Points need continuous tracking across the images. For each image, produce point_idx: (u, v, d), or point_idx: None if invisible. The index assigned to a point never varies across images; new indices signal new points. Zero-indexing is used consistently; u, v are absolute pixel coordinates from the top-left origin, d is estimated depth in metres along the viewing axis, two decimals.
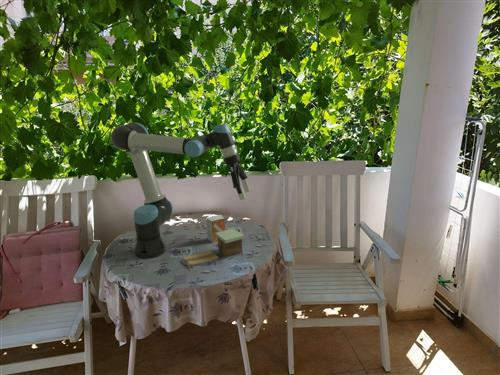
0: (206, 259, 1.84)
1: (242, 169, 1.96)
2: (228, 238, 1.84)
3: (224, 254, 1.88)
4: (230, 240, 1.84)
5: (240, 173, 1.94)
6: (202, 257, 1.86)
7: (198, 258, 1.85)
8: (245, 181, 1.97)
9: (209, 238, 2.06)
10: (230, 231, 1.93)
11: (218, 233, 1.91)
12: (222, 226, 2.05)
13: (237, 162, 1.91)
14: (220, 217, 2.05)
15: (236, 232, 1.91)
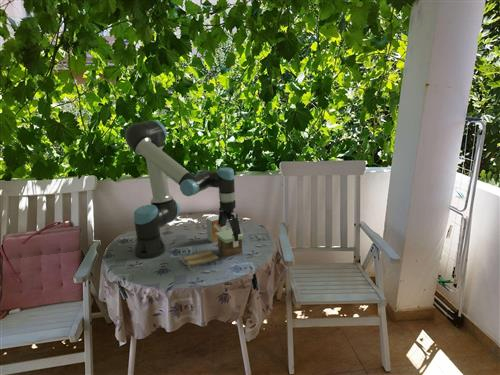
0: (206, 259, 1.84)
1: None
2: (228, 238, 1.84)
3: (224, 254, 1.88)
4: (230, 240, 1.84)
5: (225, 219, 1.91)
6: (202, 257, 1.86)
7: (198, 258, 1.85)
8: (225, 228, 1.94)
9: (209, 238, 2.06)
10: (230, 231, 1.93)
11: (218, 233, 1.91)
12: None
13: None
14: None
15: None
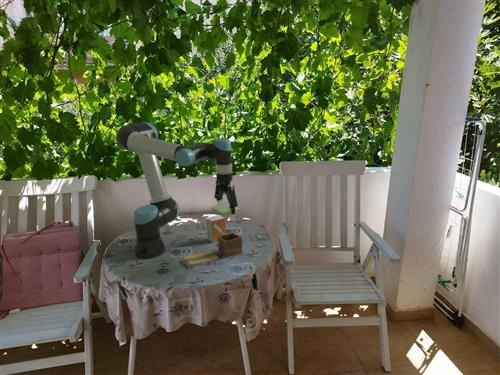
0: (206, 259, 1.84)
1: None
2: (225, 211, 1.80)
3: (224, 254, 1.88)
4: (227, 213, 1.80)
5: (222, 193, 1.87)
6: (202, 257, 1.86)
7: (198, 258, 1.85)
8: (221, 202, 1.90)
9: (209, 238, 2.06)
10: (226, 205, 1.89)
11: (214, 207, 1.87)
12: (222, 226, 2.05)
13: None
14: (220, 217, 2.05)
15: None
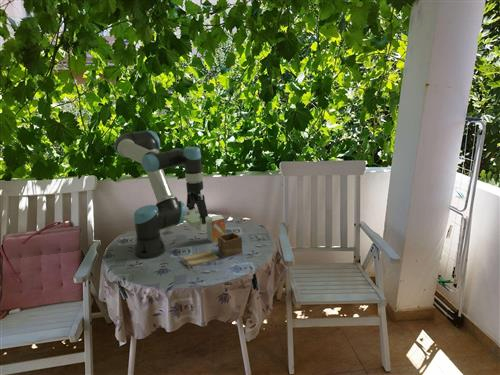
0: (206, 259, 1.84)
1: None
2: (195, 221, 1.76)
3: (224, 254, 1.88)
4: (197, 223, 1.75)
5: (193, 202, 1.82)
6: (202, 257, 1.86)
7: (198, 258, 1.85)
8: (193, 211, 1.85)
9: (209, 238, 2.06)
10: (198, 214, 1.84)
11: (186, 216, 1.82)
12: (222, 226, 2.05)
13: None
14: (220, 217, 2.05)
15: None
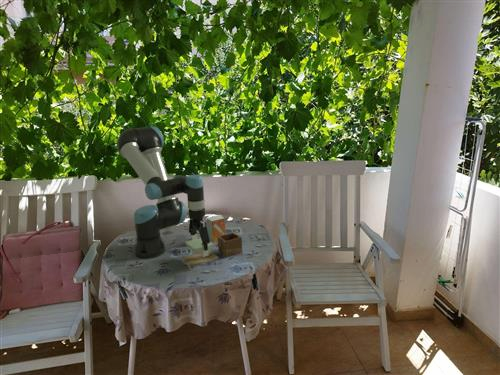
0: (206, 259, 1.84)
1: None
2: (197, 247, 1.79)
3: (224, 254, 1.88)
4: (199, 249, 1.79)
5: (195, 227, 1.86)
6: (202, 257, 1.86)
7: (198, 258, 1.85)
8: (195, 237, 1.89)
9: (209, 238, 2.06)
10: (200, 240, 1.88)
11: (188, 242, 1.86)
12: (222, 226, 2.05)
13: None
14: (220, 217, 2.05)
15: None
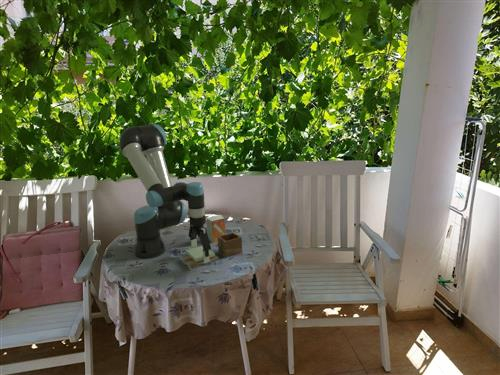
0: None
1: None
2: (198, 256, 1.81)
3: (224, 254, 1.88)
4: (200, 258, 1.80)
5: (195, 233, 1.87)
6: None
7: None
8: (195, 241, 1.90)
9: (209, 238, 2.06)
10: (201, 248, 1.89)
11: (189, 250, 1.87)
12: (222, 226, 2.05)
13: None
14: (220, 217, 2.05)
15: None
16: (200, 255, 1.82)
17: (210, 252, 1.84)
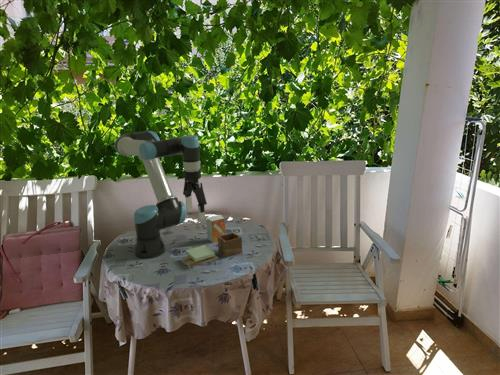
0: (206, 259, 1.84)
1: None
2: (198, 256, 1.81)
3: (224, 254, 1.88)
4: (200, 258, 1.80)
5: (190, 190, 1.81)
6: None
7: None
8: (190, 199, 1.84)
9: (209, 238, 2.06)
10: (201, 248, 1.89)
11: (189, 250, 1.87)
12: (222, 226, 2.05)
13: None
14: (220, 217, 2.05)
15: (207, 249, 1.87)
16: (200, 255, 1.82)
17: (210, 252, 1.84)
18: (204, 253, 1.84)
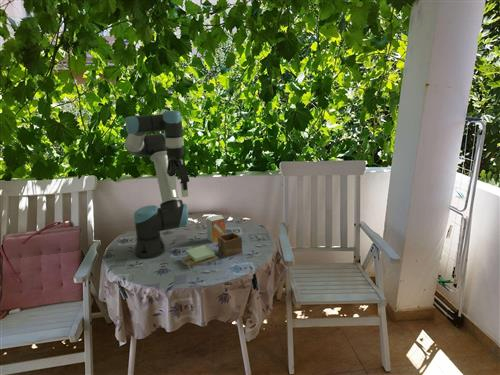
0: (206, 259, 1.84)
1: None
2: (198, 256, 1.81)
3: (224, 254, 1.88)
4: (200, 258, 1.80)
5: (174, 168, 1.76)
6: None
7: None
8: (174, 178, 1.79)
9: (209, 238, 2.06)
10: (201, 248, 1.89)
11: (189, 250, 1.87)
12: (222, 226, 2.05)
13: None
14: (220, 217, 2.05)
15: (207, 249, 1.87)
16: (200, 255, 1.82)
17: (210, 252, 1.84)
18: (204, 253, 1.84)
